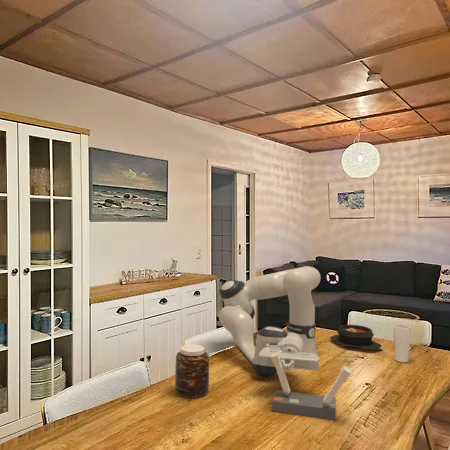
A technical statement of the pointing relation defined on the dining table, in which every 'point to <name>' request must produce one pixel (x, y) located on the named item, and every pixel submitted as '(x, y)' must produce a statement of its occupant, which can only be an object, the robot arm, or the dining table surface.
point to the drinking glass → (402, 342)
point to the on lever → (336, 385)
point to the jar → (192, 372)
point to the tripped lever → (281, 373)
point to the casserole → (356, 337)
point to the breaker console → (303, 405)
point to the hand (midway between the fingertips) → (286, 367)
